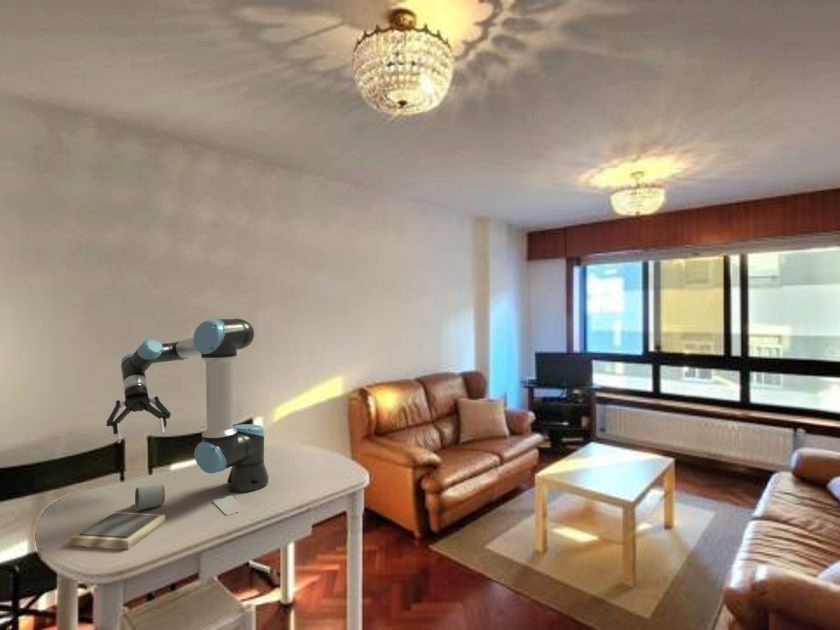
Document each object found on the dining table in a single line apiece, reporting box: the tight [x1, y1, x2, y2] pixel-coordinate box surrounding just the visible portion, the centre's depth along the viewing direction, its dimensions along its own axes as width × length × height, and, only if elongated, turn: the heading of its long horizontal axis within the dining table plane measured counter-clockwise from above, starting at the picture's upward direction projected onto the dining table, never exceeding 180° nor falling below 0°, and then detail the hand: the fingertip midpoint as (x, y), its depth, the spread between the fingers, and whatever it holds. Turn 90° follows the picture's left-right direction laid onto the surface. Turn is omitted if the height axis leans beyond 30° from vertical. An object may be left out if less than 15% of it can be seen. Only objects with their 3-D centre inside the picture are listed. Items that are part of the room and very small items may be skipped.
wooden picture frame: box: [69, 511, 166, 551], centre depth 137 cm, size 18×16×3 cm
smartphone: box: [211, 494, 238, 516], centre depth 157 cm, size 7×1×15 cm
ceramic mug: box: [134, 483, 166, 512], centre depth 156 cm, size 11×8×8 cm
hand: (142, 437), depth 163 cm, fingers open, 13 cm apart
